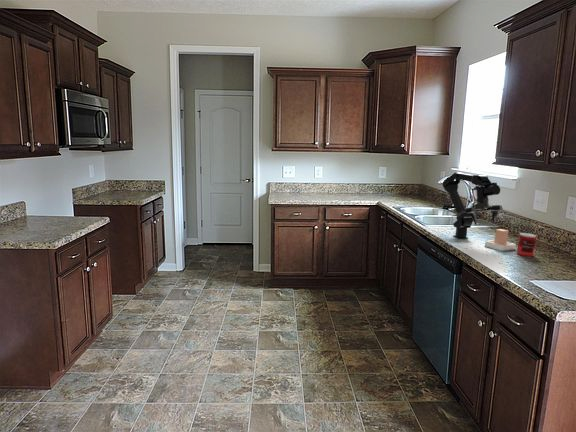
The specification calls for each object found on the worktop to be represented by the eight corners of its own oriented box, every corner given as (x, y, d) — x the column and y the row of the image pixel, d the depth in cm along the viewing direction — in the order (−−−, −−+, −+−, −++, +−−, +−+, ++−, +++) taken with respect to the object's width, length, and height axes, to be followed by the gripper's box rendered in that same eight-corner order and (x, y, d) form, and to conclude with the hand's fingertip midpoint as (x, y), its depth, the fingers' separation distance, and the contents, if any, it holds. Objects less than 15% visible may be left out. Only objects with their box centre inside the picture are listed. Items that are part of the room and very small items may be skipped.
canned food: (524, 252, 227) (527, 232, 225) (536, 256, 219) (540, 236, 217) (513, 253, 224) (516, 233, 222) (525, 257, 217) (528, 236, 215)
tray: (484, 246, 236) (485, 241, 235) (496, 244, 242) (497, 239, 241) (503, 251, 227) (504, 245, 226) (514, 249, 232) (515, 244, 232)
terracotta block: (493, 246, 235) (496, 229, 233) (498, 245, 237) (500, 229, 235) (501, 248, 231) (503, 231, 229) (506, 247, 233) (508, 230, 232)
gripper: (460, 198, 239) (462, 225, 238) (495, 194, 226) (498, 223, 225) (467, 199, 247) (469, 225, 246) (501, 195, 235) (503, 223, 233)
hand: (484, 224), depth 237 cm, fingers open, 9 cm apart
